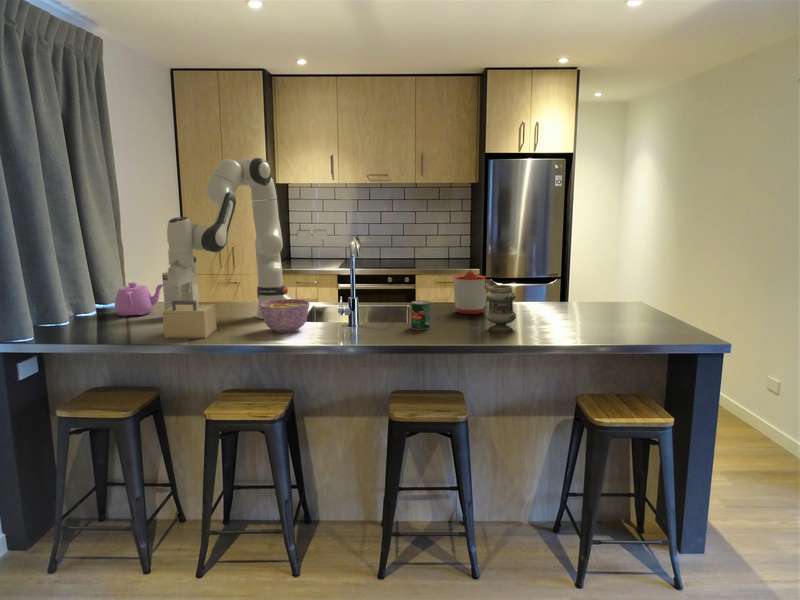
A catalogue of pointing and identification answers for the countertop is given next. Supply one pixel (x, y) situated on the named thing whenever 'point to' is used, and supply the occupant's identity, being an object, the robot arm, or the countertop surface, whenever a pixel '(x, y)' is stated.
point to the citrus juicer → (470, 293)
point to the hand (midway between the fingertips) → (182, 295)
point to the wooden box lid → (188, 307)
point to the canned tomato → (420, 315)
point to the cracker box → (170, 294)
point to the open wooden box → (189, 324)
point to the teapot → (135, 300)
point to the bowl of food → (285, 314)
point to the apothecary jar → (501, 307)
